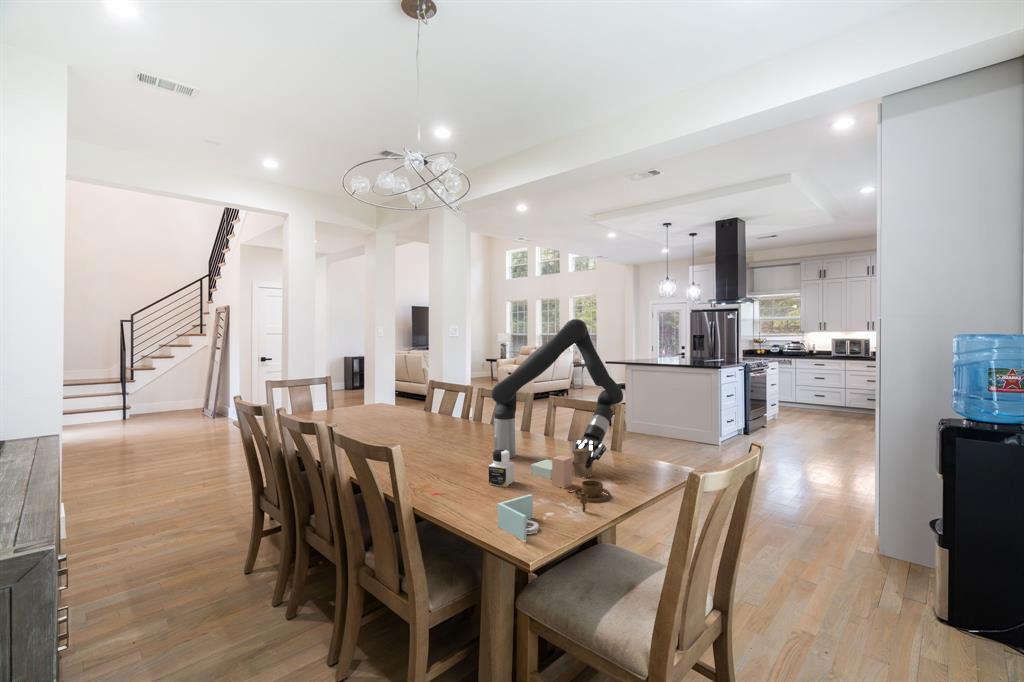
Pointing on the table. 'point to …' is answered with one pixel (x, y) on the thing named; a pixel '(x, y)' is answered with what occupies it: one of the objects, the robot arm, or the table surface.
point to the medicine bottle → (501, 469)
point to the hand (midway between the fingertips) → (580, 465)
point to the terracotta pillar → (562, 471)
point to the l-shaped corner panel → (517, 516)
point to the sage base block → (542, 468)
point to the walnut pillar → (581, 462)
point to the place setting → (590, 492)
